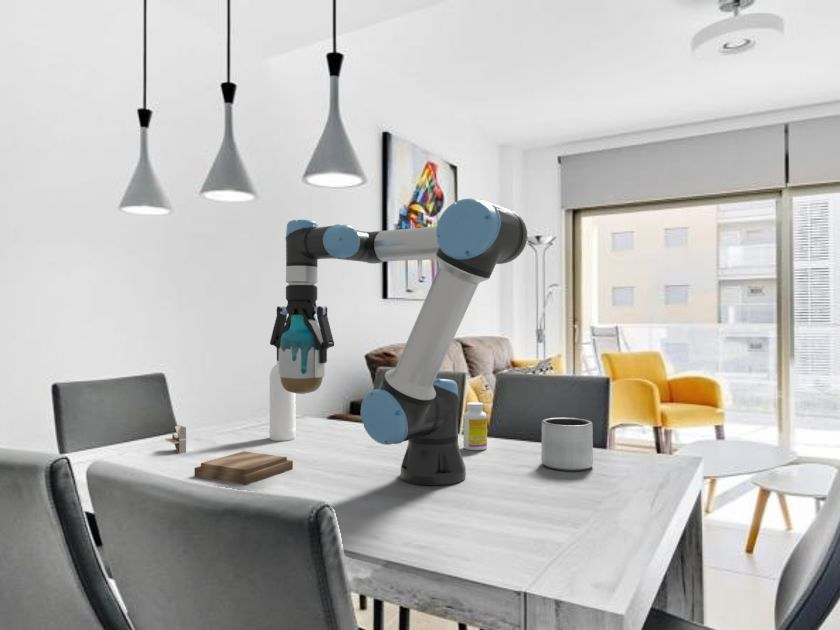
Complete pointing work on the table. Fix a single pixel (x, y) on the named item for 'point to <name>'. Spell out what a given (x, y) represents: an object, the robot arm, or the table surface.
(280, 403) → the bottle
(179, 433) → the architectural model
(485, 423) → the supplement bottle
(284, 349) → the vase
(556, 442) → the planter
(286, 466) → the pedestal
